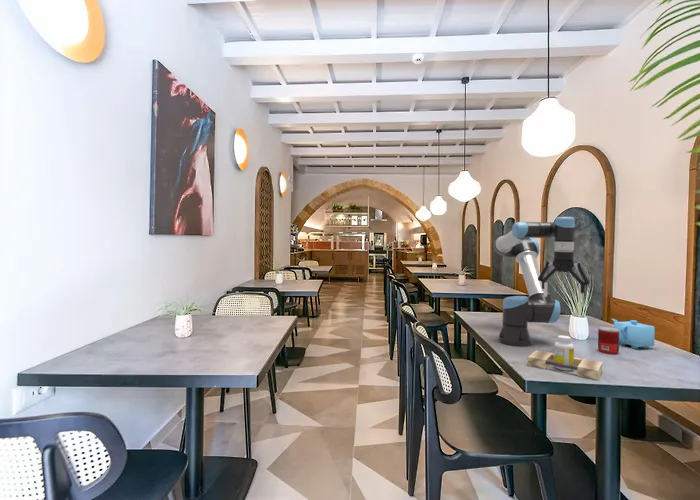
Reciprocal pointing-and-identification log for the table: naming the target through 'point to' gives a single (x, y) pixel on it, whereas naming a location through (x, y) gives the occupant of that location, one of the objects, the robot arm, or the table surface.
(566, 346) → the supplement bottle
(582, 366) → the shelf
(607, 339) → the canned food
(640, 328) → the teapot
